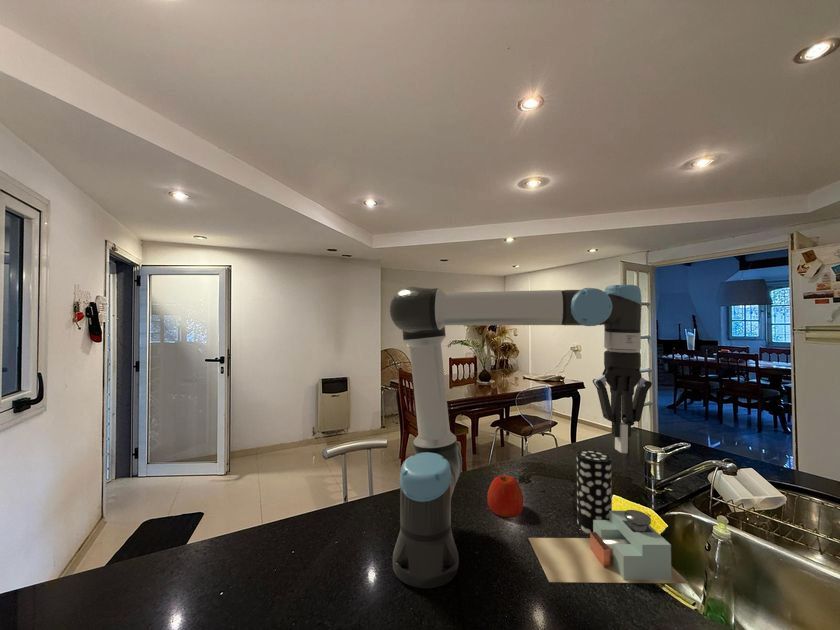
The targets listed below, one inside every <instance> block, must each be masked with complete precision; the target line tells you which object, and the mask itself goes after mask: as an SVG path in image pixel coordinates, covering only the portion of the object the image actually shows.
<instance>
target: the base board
mask: <svg viewBox="0 0 840 630" xmlns="http://www.w3.org/2000/svg"><path fill="white" fill-rule="evenodd" d="M528 541H529V542H530V544H531V547H532V549H533V551H534V553H535V555H536V557H537V559H538V562H539V563H540V566H541V567H542V570H543V571H544V574H545V576H546V578H547V581H548V583H585V584H586V583H590V584H591V583H592V584H593V583H596V584H597V583H598V584H599V583H603V584H604V583H606V584H608V583H610V584H612V583H613V584H617V583H618V584H625V583H626V584H689V582H688V581H687V580H686V579H685V578H684V577H683V576H682V575H681V574H680V573H679V572H678V571H677V570H676V569H675V568H674V567H673V566H672V565H671V580H624V579H623V578H622V577H621V576H620V574H619V573H618V572H617V570H616V569H615V568H614V560H610V568H604V567H603V566H602V564H601V563H600V561H599V560H598V559H597V557H596V556H595V555H594V553H593V552H592V550H591V549H590V537H588V538H587V537H581V538H580V537H528Z"/></svg>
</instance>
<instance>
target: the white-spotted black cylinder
mask: <svg viewBox="0 0 840 630" xmlns="http://www.w3.org/2000/svg"><path fill="white" fill-rule="evenodd" d="M612 476H613V475H612V457H611V455H609V454H608V453H606V452H603V451H599V450H594V449H580V450H578V451H576V519H577V520H576V522H577V527H578V528H579V529H580V530H581V531H582V532H584V533H585V534H588V535H590V532H593V520H609V510H613V500H612V496H613V495H612V491H613V489H612V487H613V485H612V484H613V483H612Z"/></svg>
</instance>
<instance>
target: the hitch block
mask: <svg viewBox="0 0 840 630" xmlns="http://www.w3.org/2000/svg"><path fill="white" fill-rule="evenodd" d="M625 511H626V510H614V509H612V510H609V520H593V532H596V533H597V534H598V535H599V536H600V538H601V539H627V540H628V541H629V542H630V543H631V544H613V555H614V568H615V569H616V570H617V572H618V573H619V574H620V576H621V577H622V578H623V579H624V580H671V566H672V544H671V543H670V542H669V541H668V540H666V538H664V537H663V536H662V535H661V534H660V533H658V532H657V531H656V530H655V528H653V527H652V526H651V524H650V525H648V526H647V532H633V531H632V530H631V529H630V528H629V527H628V520H626V519H625V517H624V512H625Z"/></svg>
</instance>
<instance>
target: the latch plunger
mask: <svg viewBox="0 0 840 630" xmlns="http://www.w3.org/2000/svg"><path fill="white" fill-rule="evenodd" d="M624 511H625V512H624V517H625V519H626V520H628V527H629V528H630V529H631V530H632V531H633V532H647V526H648V525H650V526H651V524H652V519H651V517H650V516H649V515H648V514H647V513H645V512H643V511H640V510H637V509H627V510H624Z"/></svg>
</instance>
